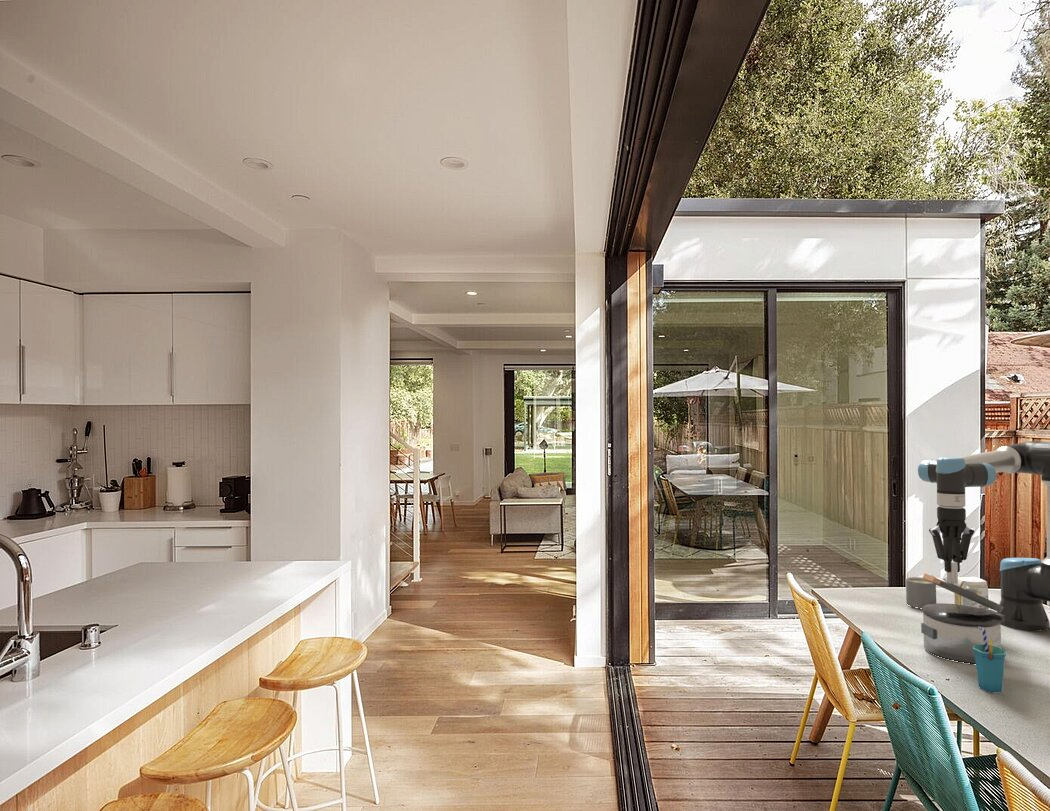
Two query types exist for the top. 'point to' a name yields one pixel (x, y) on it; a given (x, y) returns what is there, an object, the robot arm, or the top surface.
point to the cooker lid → (964, 592)
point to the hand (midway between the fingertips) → (952, 582)
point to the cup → (989, 665)
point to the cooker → (959, 630)
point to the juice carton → (974, 584)
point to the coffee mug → (920, 592)
